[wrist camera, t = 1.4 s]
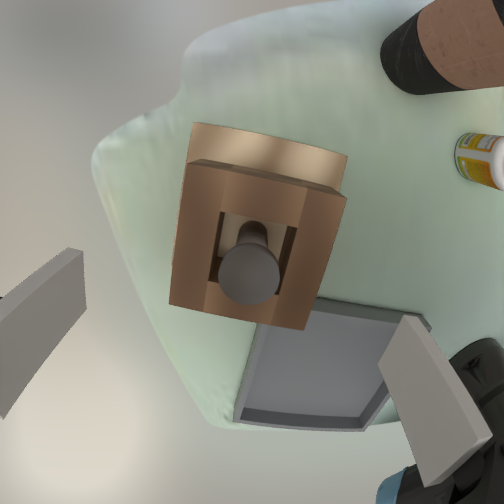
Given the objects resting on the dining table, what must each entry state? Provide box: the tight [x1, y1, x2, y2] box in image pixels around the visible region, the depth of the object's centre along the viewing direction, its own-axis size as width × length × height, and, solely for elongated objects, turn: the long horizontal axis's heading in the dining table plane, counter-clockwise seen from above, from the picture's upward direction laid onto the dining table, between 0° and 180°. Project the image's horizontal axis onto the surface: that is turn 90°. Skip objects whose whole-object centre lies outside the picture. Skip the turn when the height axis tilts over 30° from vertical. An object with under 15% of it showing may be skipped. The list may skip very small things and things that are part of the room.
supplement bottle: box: [455, 133, 504, 191], centre depth 21 cm, size 5×5×10 cm
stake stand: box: [172, 122, 348, 305], centre depth 22 cm, size 14×14×15 cm
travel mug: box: [381, 0, 504, 95], centre depth 13 cm, size 8×8×20 cm
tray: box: [233, 297, 432, 432], centre depth 34 cm, size 20×20×3 cm
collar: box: [169, 159, 347, 331], centre depth 19 cm, size 9×9×4 cm
